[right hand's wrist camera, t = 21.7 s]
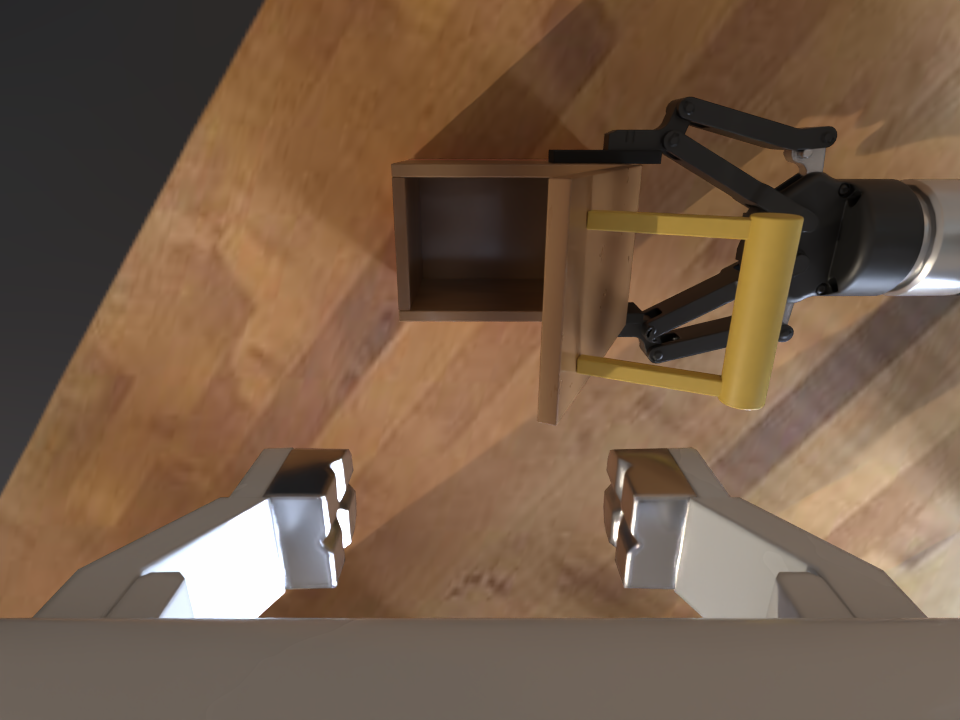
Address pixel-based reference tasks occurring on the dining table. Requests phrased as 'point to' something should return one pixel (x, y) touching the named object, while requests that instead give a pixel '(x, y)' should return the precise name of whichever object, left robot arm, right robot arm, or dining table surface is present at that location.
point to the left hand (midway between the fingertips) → (547, 238)
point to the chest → (473, 237)
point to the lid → (606, 282)
